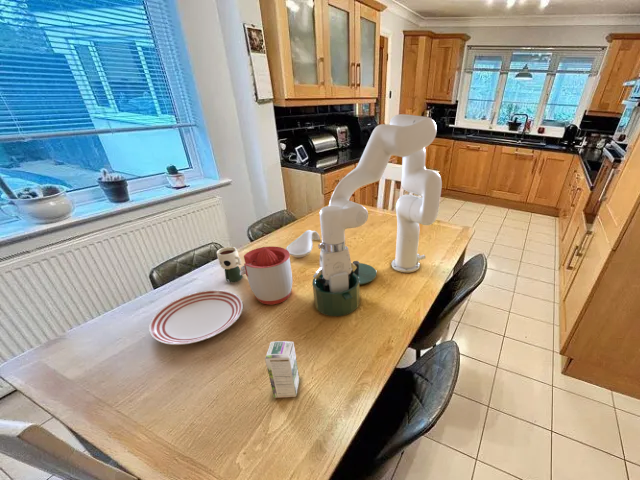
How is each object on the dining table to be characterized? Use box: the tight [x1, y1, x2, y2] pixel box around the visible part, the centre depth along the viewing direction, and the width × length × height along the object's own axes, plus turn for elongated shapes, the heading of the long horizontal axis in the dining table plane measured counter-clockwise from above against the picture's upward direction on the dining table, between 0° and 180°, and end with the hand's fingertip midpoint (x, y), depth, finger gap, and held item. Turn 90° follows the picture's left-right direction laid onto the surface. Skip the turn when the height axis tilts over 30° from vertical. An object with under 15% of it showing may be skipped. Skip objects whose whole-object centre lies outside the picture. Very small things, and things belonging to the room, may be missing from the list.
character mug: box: [216, 246, 244, 283], centre depth 120 cm, size 11×7×13 cm, turn 70°
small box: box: [328, 272, 349, 293], centre depth 109 cm, size 8×6×13 cm
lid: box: [351, 260, 377, 286], centre depth 128 cm, size 17×17×6 cm
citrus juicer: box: [240, 245, 293, 305], centre depth 109 cm, size 16×17×20 cm
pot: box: [312, 273, 361, 317], centre depth 110 cm, size 16×22×10 cm
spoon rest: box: [285, 229, 321, 258], centre depth 146 cm, size 24×12×7 cm, turn 167°
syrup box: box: [264, 340, 300, 399], centre depth 77 cm, size 6×6×14 cm
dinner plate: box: [148, 289, 244, 346], centre depth 101 cm, size 27×27×3 cm
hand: (336, 289), depth 110 cm, fingers closed on small box, 6 cm apart
